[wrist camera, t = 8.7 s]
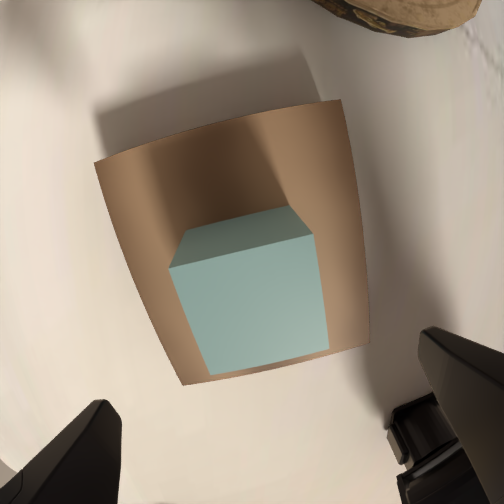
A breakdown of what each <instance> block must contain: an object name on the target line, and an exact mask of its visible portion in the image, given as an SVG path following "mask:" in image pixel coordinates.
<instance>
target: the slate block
mask: <svg viewBox="0 0 504 504" xmlns="http://www.w3.org/2000/svg"><path fill="white" fill-rule="evenodd" d="M168 270H169V272H170V275H171V278H172V281H173V283H174V286H175V289H176V291H177V294H178V297H179V299H180V302H181V305H182V307H183V310H184V312H185V315H186V318H187V320H188V323H189V325H190V328H191V330H192V333H193V335H194V338H195V340H196V342H197V345H198V347H199V350H200V352H201V354H202V357H203V359H204V361H205V364H206V366H207V368H208V371H209V373H210V375H215V374H221V373H226V372H232V371H237V370H242V369H247V368H252V367H257V366H261V365H266V364H270V363H275V362H279V361H284V360H288V359H292V358H296V357H300V356H304V355H308V354H312V353H315V352H319V351H323V350H327V349H329V340H328V332H327V324H326V316H325V308H324V301H323V293H322V286H321V279H320V273H319V266H318V260H317V253H316V247H315V241H314V235H313V233H312V232H311V230H310V229H309V228H308V227H307V226H306V224H305V223H304V222H303V221H302V220H301V218H300V217H299V216H298V215H297V214H296V212H295V211H294V210H293V209H292V208H291V206H290V205H288V206H283V207H279V208H275V209H270V210H266V211H262V212H257V213H253V214H249V215H245V216H241V217H237V218H233V219H229V220H225V221H220V222H216V223H212V224H209V225H205V226H201V227H197V228H193V229H189V230H186V231H185V233H184V235H183V237H182V240H181V242H180V244H179V246H178V248H177V250H176V252H175V255H174V257H173V259H172V261H171V263H170V266H169V268H168Z"/></svg>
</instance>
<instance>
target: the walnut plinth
mask: <svg viewBox="0 0 504 504" xmlns="http://www.w3.org/2000/svg"><path fill="white" fill-rule="evenodd" d="M94 166H95V169H96V173H97V176H98V180H99V183H100V186H101V190H102V193H103V196H104V199H105V203H106V206H107V209H108V212H109V215H110V218H111V221H112V224H113V227H114V230H115V232H116V235H117V238H118V241H119V244H120V246H121V249H122V252H123V254H124V257H125V260H126V262H127V265H128V268H129V270H130V273H131V275H132V278H133V280H134V283H135V285H136V288H137V290H138V292H139V295H140V297H141V299H142V302H143V304H144V306H145V309H146V311H147V313H148V316H149V318H150V320H151V322H152V324H153V327H154V329H155V331H156V333H157V335H158V337H159V340H160V342H161V344H162V346H163V348H164V350H165V352H166V354H167V356H168V358H169V360H170V362H171V364H172V366H173V368H174V370H175V372H176V374H177V376H178V378H179V380H180V382H181V383H182V385H183V386H184V385H191V384H197V383H204V382H210V381H216V380H221V379H227V378H232V377H238V376H243V375H248V374H253V373H258V372H262V371H267V370H271V369H276V368H280V367H284V366H288V365H293V364H297V363H301V362H305V361H308V360H312V359H316V358H320V357H323V356H327V355H331V354H334V353H338V352H341V351H344V350H348V349H351V348H354V347H358V346H361V345H364V344H367V343H370V329H369V302H368V284H367V270H366V258H365V247H364V237H363V227H362V219H361V211H360V203H359V196H358V189H357V182H356V176H355V169H354V163H353V157H352V152H351V146H350V141H349V136H348V131H347V126H346V121H345V116H344V111H343V107H342V102H341V99H339V100H331V101H324V102H317V103H310V104H304V105H298V106H292V107H286V108H281V109H276V110H270V111H265V112H261V113H256V114H251V115H247V116H242V117H238V118H234V119H229V120H225V121H221V122H217V123H213V124H210V125H206V126H202V127H199V128H195V129H191V130H188V131H184V132H181V133H178V134H174V135H171V136H168V137H165V138H161V139H158V140H155V141H152V142H149V143H146V144H143V145H140V146H137V147H134V148H132V149H129V150H126V151H123V152H121V153H118V154H115V155H112V156H110V157H107V158H105V159H102V160H100V161H97V162H95V163H94ZM288 205H290V206H291V208H292V209H293V210H294V211H295V212H296V214H297V215H298V216H299V217H300V218H301V220H302V221H303V222H304V223H305V224H306V226H307V227H308V228H309V229H310V230H311V232H312V233H313V235H314V241H315V247H316V253H317V260H318V266H319V273H320V279H321V286H322V293H323V301H324V308H325V316H326V324H327V332H328V340H329V349H327V350H323V351H319V352H315V353H312V354H308V355H304V356H300V357H296V358H292V359H288V360H284V361H279V362H275V363H270V364H266V365H261V366H257V367H252V368H247V369H242V370H237V371H232V372H226V373H221V374H215V375H210V373H209V371H208V368H207V366H206V364H205V361H204V359H203V357H202V354H201V352H200V350H199V347H198V345H197V342H196V340H195V338H194V335H193V333H192V330H191V328H190V325H189V323H188V320H187V318H186V315H185V312H184V310H183V307H182V305H181V302H180V299H179V297H178V294H177V291H176V289H175V286H174V283H173V281H172V278H171V275H170V272H169V270H168V268H169V266H170V263H171V261H172V259H173V257H174V255H175V252H176V250H177V248H178V246H179V244H180V242H181V240H182V237H183V235H184V233H185V231H186V230H189V229H193V228H197V227H201V226H205V225H209V224H212V223H216V222H220V221H225V220H229V219H233V218H237V217H241V216H245V215H249V214H253V213H257V212H262V211H266V210H270V209H275V208H279V207H283V206H288Z"/></svg>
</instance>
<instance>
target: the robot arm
mask: <svg viewBox="0 0 504 504" xmlns="http://www.w3.org/2000/svg"><path fill="white" fill-rule="evenodd" d="M418 358H419V361H420V363H421V365H422V367H423V369H424V371H425V374H426V376H427V378H428V380H429V383H430V385H431V387H432V389H433V392H434V393H431V394H429V395H427V396H425V397H422V398H420V399H418V400H415V401H413V402H411V403H408V404H406V405H403V406H401V407H398V408H396V409H395V410H394V411H393V412H392V419H391V424H390V426H389V430H388V435H387V439H388V441H389V444H390V446H391V448H392V450H393V452H394V455H395V457H396V459H397V462H398V464H400V465H403V464H404V465H405V467H406V469H407V471H406V472H404V473H401V474H399V475H397V476H396V477H397V485H398V489H399V493H400V497H401V501H402V504H504V353H501V352H499V351H496V350H494V349H491V348H489V347H486V346H484V345H481V344H479V343H476V342H473V341H471V340H468V339H466V338H463V337H461V336H458V335H456V334H453V333H451V332H448V331H446V330H443V329H441V328H438V327H435V326H432V327H429V328H427V329H424V330H422V331H421V333H420V338H419V347H418ZM121 437H122V421H121V418H120V416H119V414H118V413H117V412H116V410H115V409H114V408H113V406H112V405H111V404H110V402H109V401H107V400H105V399H100V400H94V401H93V402H92V403H90V404H89V405H88V406H87V407H86V408H85V409H84V410H83V411H82V412H81V413H80V414H79V415H78V416H77V417H76V418H75V419H74V420H73V421H72V422H71V423H70V424H68V425H67V426H66V427H65V428H64V429H63V430H62V431H61V432H60V433H59V434H58V435H57V436H56V437H55V438H54V439H53V440H52V441H51V442H50V443H49V444H48V445H47V446H45V447H44V448H43V449H42V450H41V451H40V452H39V453H38V454H37V455H36V456H35V457H34V458H33V459H32V460H31V461H30V462H29V463H28V464H27V465H26V466H25V467H24V468H23V469H21V470H20V471H19V472H18V473H17V474H16V475H15V476H14V477H13V478H12V479H11V480H10V481H9V482H8V483H6V484H5V485H4V486H3V487H2V488H0V504H117V503H118V491H119V481H120V471H121Z"/></svg>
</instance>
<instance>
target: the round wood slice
mask: <svg viewBox="0 0 504 504" xmlns="http://www.w3.org/2000/svg"><path fill="white" fill-rule="evenodd" d="M312 1H313V2H315V3H317V4H318V5H320V6H322V7H323V8H325V9H326V10H328V11H330V12H331V13H333V14H334V15H336V16H337V17H340V18H343V19H345V20H348V21H350V22H353V23H355V24H358V25H360V26H363V27H365V28H367V29H370V30H372V31H374V32H380V33H385V34H391V35H396V36H401V37H406V38H413V37H421V36H430V35H436V34H439V33H442V32H445V31H447V30H450V29H453V28H456V27H459V26H460V25H462V24H463V23H465V22H467V21H468V20H470V19H471V18H473V17H475V15H476V13H477V11H478V8H479V6H480V4H481V1H482V0H312Z"/></svg>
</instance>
